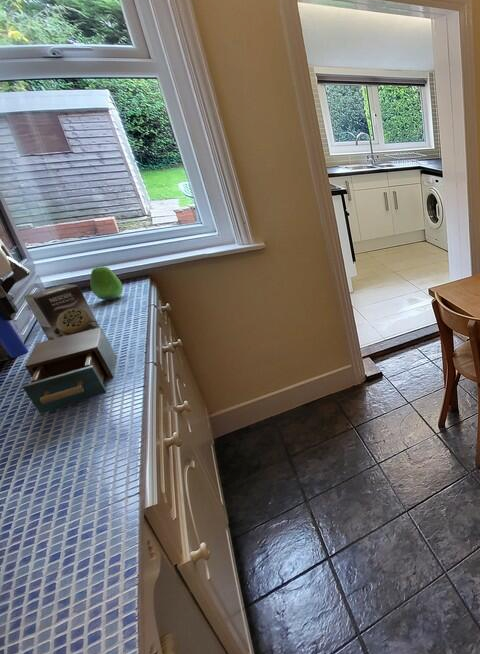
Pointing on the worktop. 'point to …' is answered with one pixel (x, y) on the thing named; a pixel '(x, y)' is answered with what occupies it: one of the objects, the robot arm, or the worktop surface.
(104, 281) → the avocado
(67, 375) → the drawer
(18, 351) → the marker
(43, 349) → the cabinet
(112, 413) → the worktop surface
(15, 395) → the worktop surface
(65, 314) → the coffee box
